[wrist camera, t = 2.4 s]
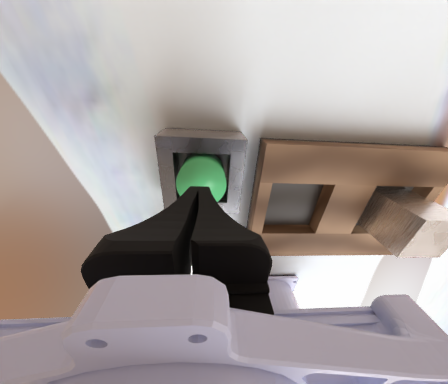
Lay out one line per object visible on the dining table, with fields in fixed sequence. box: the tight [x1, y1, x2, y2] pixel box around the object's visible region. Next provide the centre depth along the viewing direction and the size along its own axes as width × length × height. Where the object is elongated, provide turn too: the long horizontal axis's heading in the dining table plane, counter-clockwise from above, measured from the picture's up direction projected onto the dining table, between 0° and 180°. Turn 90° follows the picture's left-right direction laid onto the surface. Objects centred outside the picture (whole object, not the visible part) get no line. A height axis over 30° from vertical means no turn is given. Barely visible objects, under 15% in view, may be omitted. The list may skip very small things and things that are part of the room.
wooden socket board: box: [247, 138, 448, 256], centre depth 20 cm, size 14×20×2 cm
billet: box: [357, 188, 448, 258], centre depth 18 cm, size 4×4×6 cm
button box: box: [155, 128, 247, 214], centre depth 16 cm, size 7×7×4 cm
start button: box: [176, 153, 226, 202], centre depth 15 cm, size 4×4×3 cm
